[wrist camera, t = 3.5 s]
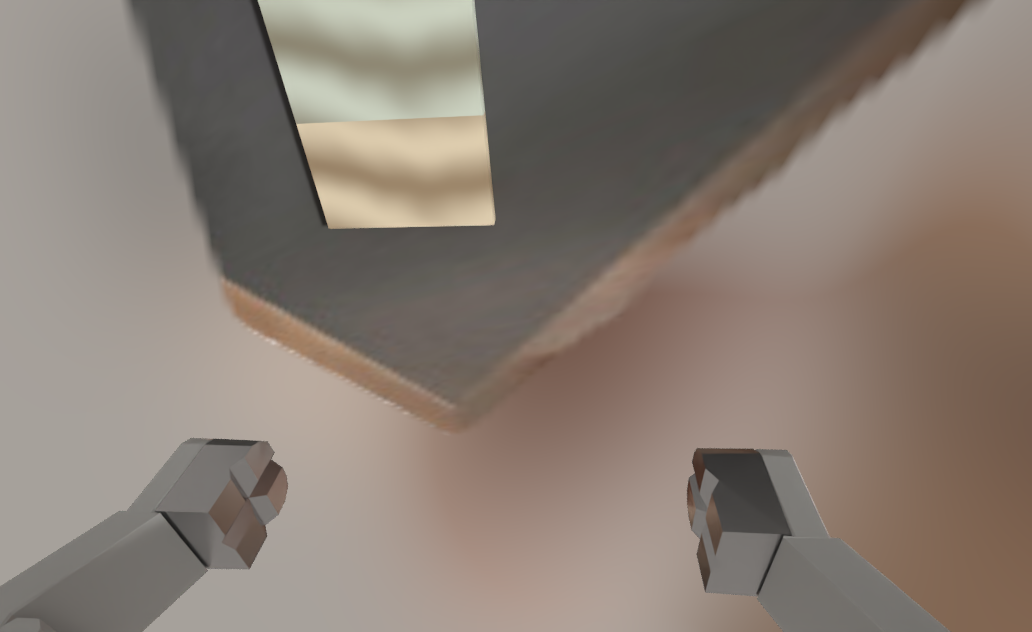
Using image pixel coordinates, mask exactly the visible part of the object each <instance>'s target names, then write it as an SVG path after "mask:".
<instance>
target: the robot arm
mask: <svg viewBox="0 0 1032 632" xmlns="http://www.w3.org/2000/svg"><path fill="white" fill-rule="evenodd" d="M273 455H274V451H273V449H272V448H271V446H270V444H269V443H268V442H267V441H250V440H229V439H201V438H190V439H189V440H187V441H185V442H183V443H182V444H181V445H180V446H179V447H178V448H177V450H176V451H175V452H174V453H173V455H172V456H171V457H170V458H169V460H168V461H167V462H166V463H165V464H164V466H163V467H162V468H161V469H160V471H159V472H158V473H157V474H156V475H155V477H154V478H153V479H152V481H151V482H150V483H149V484H148V485H147V487H146V488H145V489H144V490H143V491H142V493H141V494H140V495H139V496H138V498H137V499H136V500H135V501H134V503H133V504H132V505H131V506H130V507H129V509H128V510H127V511H119V512H117V513H115V514H114V515H112V516H111V517H109V518H107V519H106V520H104V521H103V522H101V523H99V524H98V525H97V526H95V527H93V528H92V529H90V530H89V531H87V532H85V533H84V534H82V535H81V536H79V537H77V538H76V539H74V540H73V541H71V542H70V543H68V544H66V545H65V546H63V547H62V548H60V549H58V550H57V551H55V552H54V553H52V554H51V555H49V556H47V557H46V558H44V559H43V560H41V561H39V562H38V563H36V564H35V565H33V566H32V567H30V568H28V569H27V570H25V571H24V572H22V573H20V574H19V575H17V576H16V577H14V578H13V579H11V580H9V581H8V582H6V583H5V584H3V585H2V586H0V632H142V631H144V630H145V629H146V628H147V626H149V625H150V624H151V623H152V622H153V621H154V620H155V619H156V618H157V617H159V616H160V615H161V614H162V613H163V612H164V611H165V610H166V609H167V608H168V607H169V606H171V605H172V604H173V603H174V602H175V601H176V600H177V599H178V598H179V597H180V596H181V595H182V594H183V593H185V592H186V591H187V590H188V589H189V588H190V587H191V586H192V585H193V584H194V583H195V582H196V581H198V580H199V579H200V578H201V577H202V576H203V575H204V574H205V573H206V572H207V571H208V570H207V569H206V568H208V569H210V568H211V569H250V568H251V566H252V564H253V562H254V560H255V558H256V556H257V554H258V552H259V551H260V549H261V547H262V545H263V543H264V541H265V539H266V537H267V532H266V526H265V525H266V524H267V523H269V522H270V521H271V520H272V519H274V518H275V517H276V516H277V515H278V514H279V513H280V510H281V508H282V506H283V504H284V502H285V499H286V494H287V489H288V483H287V476H286V474H285V471H284V469H283V468H282V467H281V466H280V465H278V464H277V463H275V462H274V461H273V460H271V459H272V457H273ZM692 464H693V468H694V472H695V473H694V474H693V475H692V476H690V477H689V480H688V487H687V508H688V516H689V521H690V526H691V530H692V531H693V532H694V533H695V534H696V535H697V536H698V537H699V539H700V542H699V546H698V550H697V558H698V563H699V567H700V572H701V576H702V581H703V584H704V589H705V592H707V593H721V594H733V595H734V594H735V595H747V596H758V598H757V599H758V601H759V602H760V603H761V605H762V606H763V607H764V608H765V609H766V611H767V612H768V613H769V614H770V616H771V617H772V618H773V620H774V621H775V622H776V623H777V624H778V626H779V627H780V628H781V629H782V631H783V632H950V631H949V630H948V629H947V628H946V627H944V626H943V625H942V624H941V623H940V622H939V621H937V620H936V619H935V618H934V617H932V616H931V615H930V614H929V613H928V612H927V611H926V610H924V609H923V608H922V607H921V606H920V605H918V604H917V603H916V602H915V601H914V600H912V599H911V598H910V597H909V596H908V595H907V594H905V593H904V592H903V591H902V590H901V589H899V588H898V587H897V586H896V585H895V584H894V583H892V582H891V581H890V580H889V579H888V578H886V577H885V576H884V575H883V574H882V573H881V572H879V571H878V570H877V569H876V568H875V567H873V566H872V565H871V564H870V563H869V562H868V561H866V560H865V559H864V558H862V557H861V556H860V555H859V554H858V553H857V552H856V551H855V550H853V549H852V548H851V547H850V546H848V545H847V544H846V543H845V542H844V541H843V540H841V539H840V538H830V536H829V534H828V532H827V530H826V528H825V526H824V523H823V521H822V519H821V517H820V515H819V513H818V510H817V508H816V506H815V504H814V502H813V500H812V497H811V495H810V493H809V491H808V489H807V487H806V484H805V483H804V480H803V478H802V476H801V474H800V471H799V469H798V467H797V465H796V463H795V461H794V459H793V456H792V455H791V454H790V453H789V452H788V451H787V450H763V449H762V450H761V449H757V450H754V449H719V448H718V449H717V448H716V449H715V448H704V449H703V448H697V449H696V451H695V452H694V455H693V460H692Z"/></svg>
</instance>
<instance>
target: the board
mask: <svg viewBox="0 0 1032 632" xmlns="http://www.w3.org/2000/svg"><path fill="white" fill-rule="evenodd" d="M258 3H259V6H260V9H261V12H262V16H263V19H264V22H265V25H266V28H267V32H268V35H269V38H270V41H271V44H272V48H273V51H274V54H275V57H276V61H277V64H278V67H279V70H280V73H281V77H282V80H283V83H284V86H285V89H286V93H287V96H288V99H289V102H290V105H291V109H292V112H293V115H294V118H295V121H296V125H297V128H298V131H299V134H300V138H301V141H302V144H303V147H304V150H305V154H306V157H307V160H308V163H309V166H310V170H311V173H312V176H313V179H314V182H315V186H316V189H317V192H318V195H319V198H320V202H321V205H322V208H323V211H324V215H325V218H326V221H327V224H328V227H329V229H336V228H382V227H428V226H474V225H494V223H495V210H494V200H493V190H492V179H491V169H490V158H489V148H488V138H487V127H486V117H485V106H484V96H483V86H482V75H481V65H480V54H479V44H478V34H477V23H476V13H475V2H474V0H258Z"/></svg>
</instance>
